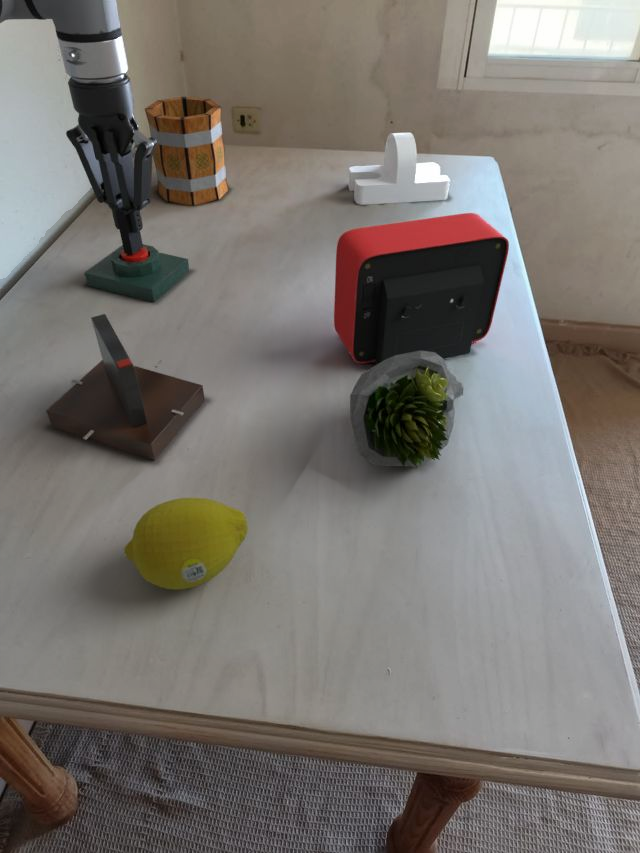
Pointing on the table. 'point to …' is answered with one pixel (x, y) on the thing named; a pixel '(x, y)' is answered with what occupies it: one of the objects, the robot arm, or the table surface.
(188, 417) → the dial panel
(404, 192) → the white caddy with handle
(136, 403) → the dark grey slab
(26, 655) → the table surface
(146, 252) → the button
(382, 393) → the potted plant
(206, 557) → the lemon
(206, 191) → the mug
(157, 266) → the button block
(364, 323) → the alarm clock
